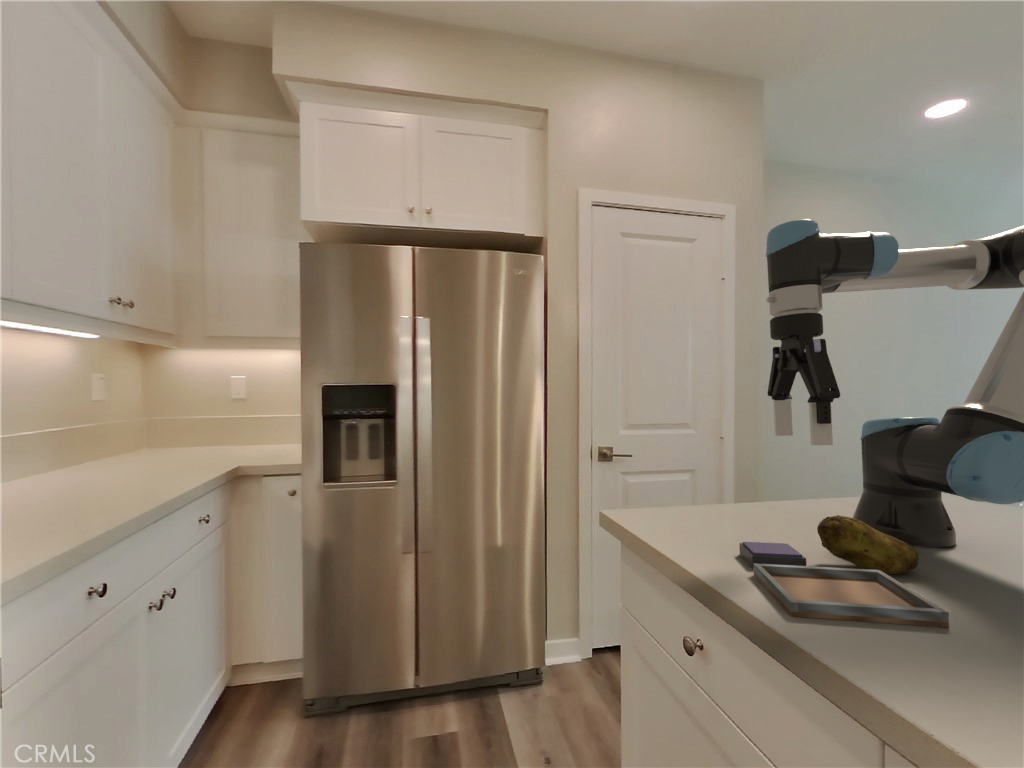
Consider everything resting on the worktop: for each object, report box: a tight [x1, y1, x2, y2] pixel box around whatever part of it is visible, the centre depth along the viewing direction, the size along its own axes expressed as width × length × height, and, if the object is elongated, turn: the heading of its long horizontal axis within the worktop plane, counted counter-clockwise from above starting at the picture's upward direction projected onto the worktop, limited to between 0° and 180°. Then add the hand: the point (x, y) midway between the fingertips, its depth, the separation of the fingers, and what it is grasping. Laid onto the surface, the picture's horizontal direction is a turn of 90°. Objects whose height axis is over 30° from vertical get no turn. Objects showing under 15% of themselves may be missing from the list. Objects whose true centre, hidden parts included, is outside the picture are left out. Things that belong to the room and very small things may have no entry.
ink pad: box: [739, 541, 807, 569], centre depth 73 cm, size 8×6×2 cm
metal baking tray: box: [753, 563, 950, 628], centre depth 60 cm, size 18×13×2 cm
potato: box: [817, 514, 920, 575], centre depth 70 cm, size 8×13×8 cm, turn 53°
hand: (801, 440), depth 74 cm, fingers open, 13 cm apart
